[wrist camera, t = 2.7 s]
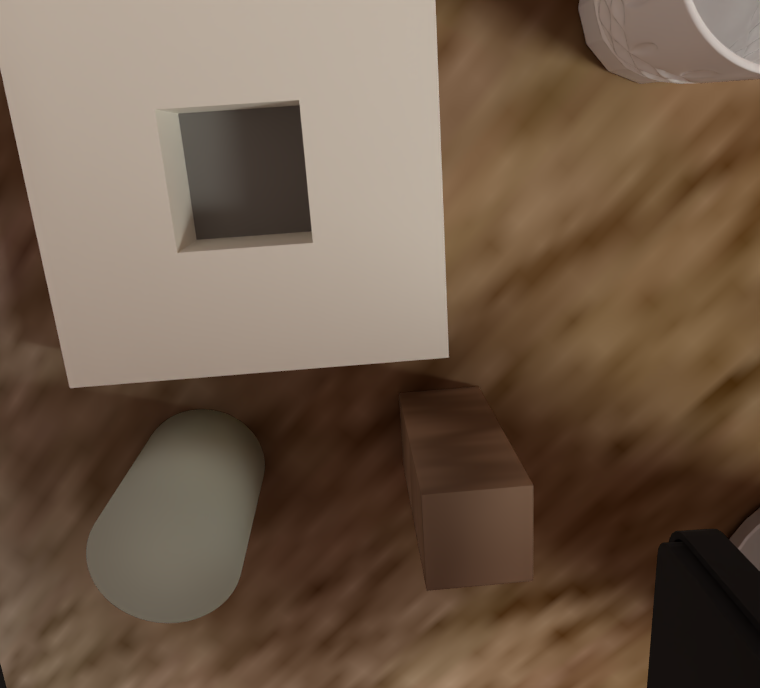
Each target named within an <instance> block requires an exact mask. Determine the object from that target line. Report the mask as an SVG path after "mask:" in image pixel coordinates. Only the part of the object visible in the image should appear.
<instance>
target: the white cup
mask: <svg viewBox="0 0 760 688" xmlns="http://www.w3.org/2000/svg"><path fill="white" fill-rule="evenodd" d="M578 10H579V15H580V19H581V23H582V27H583V32H584V36H585V40H586V44H587V46H588V47H589V48H590V49H591V51H592V52H593V53H594V54H595V55H596V57H597V58H598V59H599V60H600V62H601V63H602V64H603V65H604V67H605V68H606V69H607V70H608V71H609V72H612V73H614V74H617V75H619V76H622V77H624V78H627V79H629V80H632V81H634V82H636V83H639V84H642V83H652V82H669V83H677V84H684V83H713V82H727V81H741V80H755V79H760V0H579V5H578Z"/></svg>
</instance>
